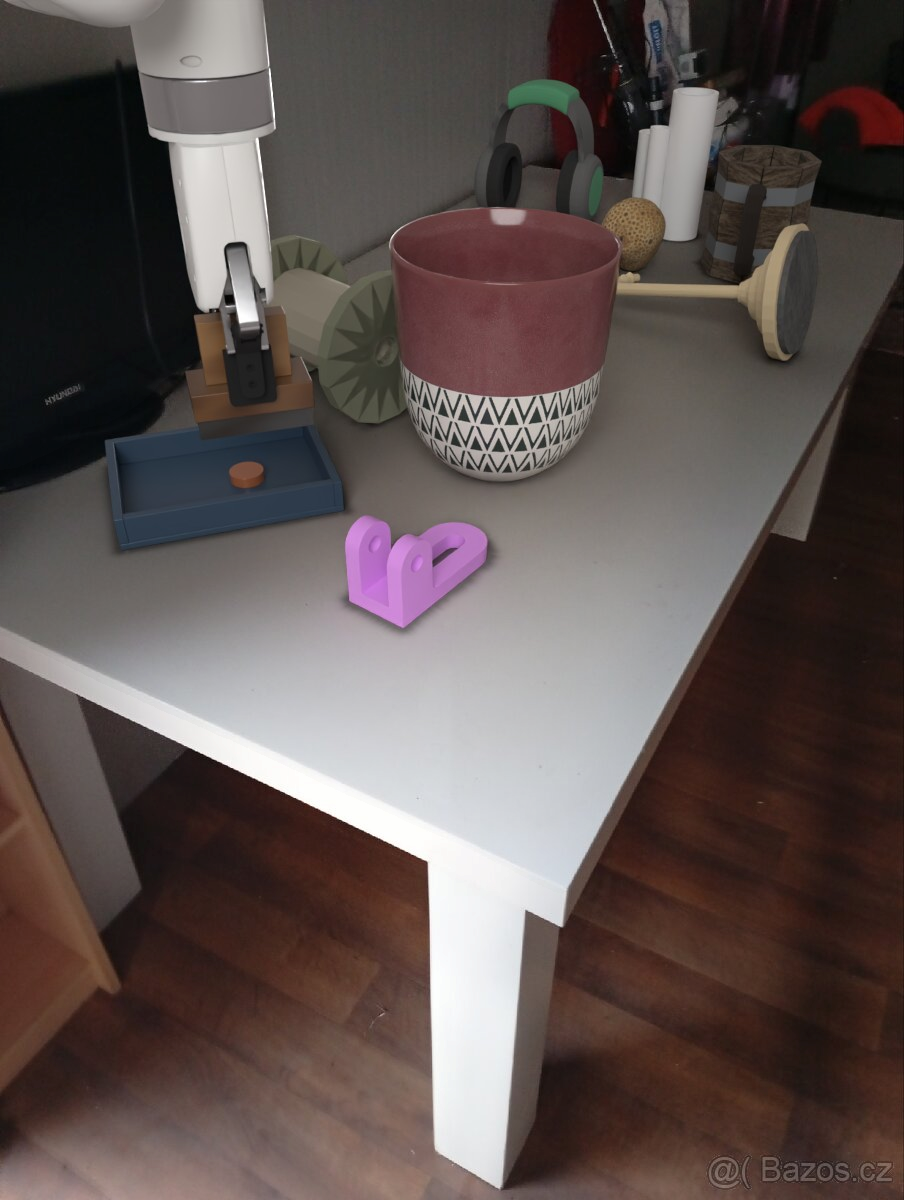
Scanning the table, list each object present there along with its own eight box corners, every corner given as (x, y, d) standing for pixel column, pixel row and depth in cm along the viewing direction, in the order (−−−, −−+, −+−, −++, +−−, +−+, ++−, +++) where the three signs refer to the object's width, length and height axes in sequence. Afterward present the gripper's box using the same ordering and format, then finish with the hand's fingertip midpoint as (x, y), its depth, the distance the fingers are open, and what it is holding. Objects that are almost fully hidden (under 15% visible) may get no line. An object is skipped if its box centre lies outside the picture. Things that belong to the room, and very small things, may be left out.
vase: (702, 231, 150) (724, 89, 137) (687, 244, 145) (710, 98, 132) (633, 220, 154) (650, 82, 142) (618, 233, 149) (633, 90, 137)
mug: (707, 248, 143) (725, 140, 134) (800, 259, 140) (825, 149, 130) (684, 292, 129) (702, 175, 120) (786, 306, 125) (814, 186, 116)
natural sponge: (614, 285, 131) (622, 210, 125) (583, 265, 138) (590, 192, 131) (670, 277, 134) (681, 203, 128) (638, 257, 140) (646, 186, 134)
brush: (199, 442, 67) (179, 333, 62) (193, 414, 70) (173, 309, 65) (316, 426, 69) (306, 319, 64) (305, 399, 72) (295, 296, 67)
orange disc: (233, 490, 88) (231, 481, 87) (228, 473, 90) (226, 464, 90) (267, 484, 89) (266, 475, 88) (261, 468, 91) (260, 459, 90)
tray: (121, 550, 81) (113, 520, 79) (111, 468, 92) (104, 439, 90) (344, 510, 86) (341, 481, 84) (310, 436, 97) (307, 409, 95)
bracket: (403, 628, 73) (400, 554, 69) (349, 601, 76) (343, 528, 72) (499, 550, 81) (502, 480, 77) (448, 528, 84) (448, 459, 80)
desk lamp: (828, 214, 111) (530, 219, 132) (729, 259, 86) (380, 256, 107) (816, 342, 118) (534, 328, 139) (720, 419, 93) (393, 387, 114)
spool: (440, 396, 104) (439, 258, 95) (333, 442, 96) (321, 297, 87) (345, 351, 114) (335, 222, 104) (240, 390, 105) (220, 254, 96)
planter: (498, 400, 104) (505, 194, 90) (639, 467, 92) (671, 244, 79) (357, 460, 93) (342, 238, 80) (496, 545, 82) (505, 303, 69)
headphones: (602, 218, 155) (616, 80, 143) (582, 237, 147) (594, 93, 135) (495, 204, 161) (499, 71, 149) (469, 222, 153) (471, 83, 141)
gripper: (137, 81, 62) (184, 346, 73) (154, 140, 49) (208, 450, 61) (252, 75, 64) (281, 335, 75) (297, 130, 51) (324, 433, 62)
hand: (248, 384), depth 68 cm, fingers closed on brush, 4 cm apart
